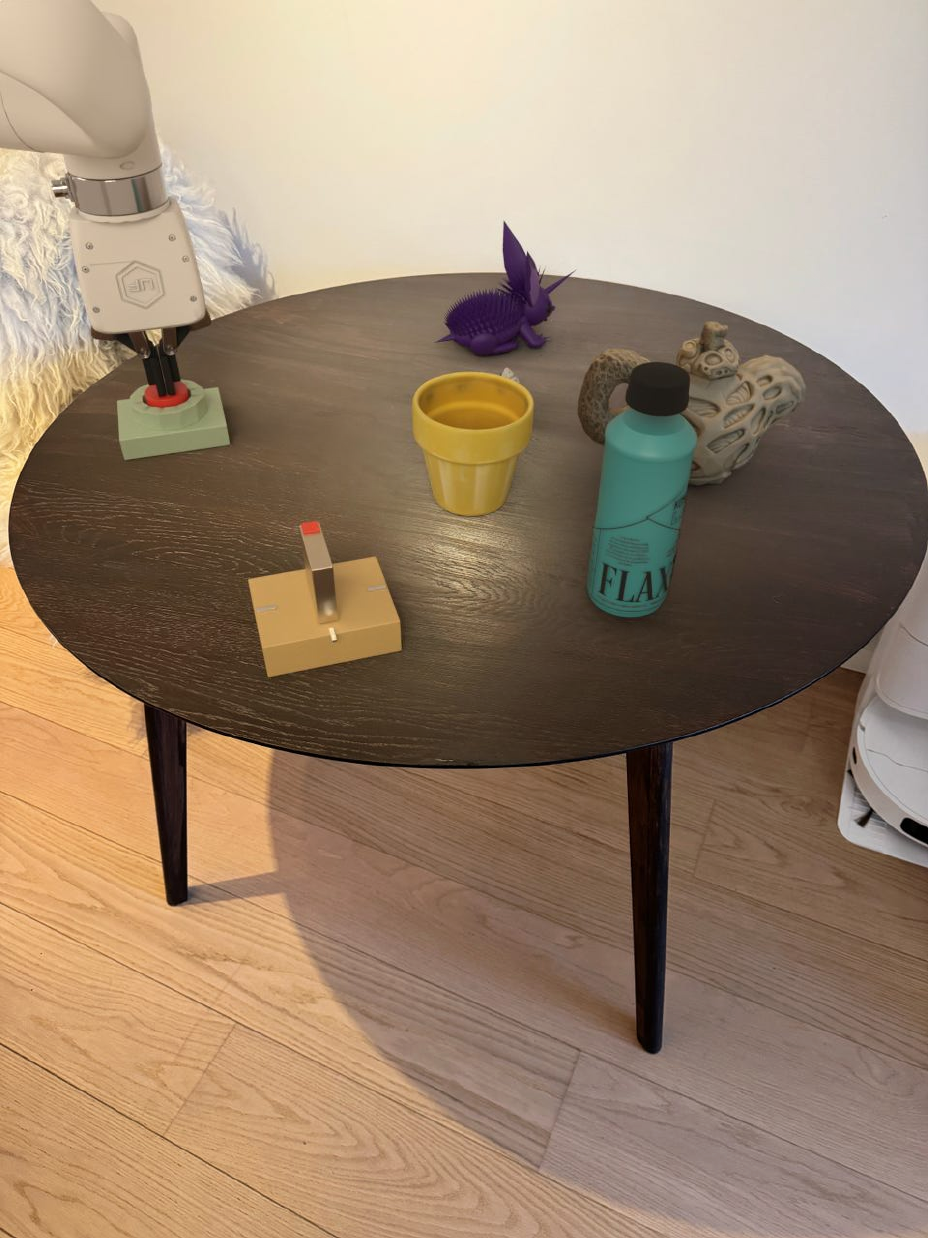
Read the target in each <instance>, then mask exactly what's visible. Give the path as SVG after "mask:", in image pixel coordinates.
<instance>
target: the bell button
mask: <svg viewBox="0 0 928 1238" xmlns="http://www.w3.org/2000/svg"><path fill="white" fill-rule="evenodd" d="M164 382H165V381H164ZM174 387H175V393H176V395H170V394H168V393H167V389H166V384H165V390H166V395H164V396H163V397H159V396H158V392H157V388H156V385H150V386H149V387H147V388H146V390H145V392H144V394H145V398H146V402H147V405H148V406H150V407H158V408H166V407H174V406H177V405H180V404H182V403H184V402H186V401H187V400H188V399H189V395H188V390H187V386H186V385H185V384H184V383H182V382H174Z"/></svg>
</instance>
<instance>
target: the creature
mask: <svg viewBox="0 0 928 1238" xmlns="http://www.w3.org/2000/svg"><path fill="white" fill-rule="evenodd" d="M502 258H503V268H504V270H505V273H506V276H507V278H508V279H507V278H506V277H504V276H503V277H501V279H502V280H503V281H504V282H505V284H507V285H508V286H507V285H505V284H504V283H502V282H498V284H499V285H500V286H501V287H502V288H504V289H500V288H498V287H497V288H495V287H494V290H493V289H488V290H487V289H485V290H482V292H481V289H480V288H479V289H478V291H477V290H476V292H475V291H472V292H469V293H467V294H466V295H467V296H466V295H465V294H464V297H463V296H461V298H460V297H459V301H458V300H456V301H453V302H454V303H452V305H450V308H449V309H448V308H447V312H446V314H445V316H444V317H443V319H444V320H445V321H443V323H444V324H445V326H446V327H447V329H448V330H449V334H446V335H445V336H443V337H442V338H440V339H438V340H437V341H435V342H434V344H436V343H444V342H450V341H454V342H455V343H456V344H458V345H459V346H461V347H463V348H466V349H469V350H470V351H471V352H472V354H474V355H475V356H480V357H483V356H488V355H498V354H504V353H507V352H511V351H512V350H515V349H516V348H518V347H523V344H520V343H521V341H518V342H517V340H518V337H520V338H521V339H522V340H523V341H524V342H525V344H526V345H527V346H528V347H530V348H533V349H538V348H541V347H543V346H544V345H545V344H546V343H549V342H552V340H546V339H548V338H550V336H546V337H544V336H543V335H544V332H542V333H540V334H538V333H536V331H535V330H534V329H533V327H536V326H538V325H540V324H542V323H543V322H548V318H549V317H551V315H552V313H553V311H555V310H556V306H555V305H554V304H553V302H552V300H551V297H550V294H551V293H552V292H553V291H554V290H555V289H557V287H559V286H560V285H561V284H562V283H563V282H565V281H566V280H567V279H568V278H569V277H570V276H572V274H573V273H575V272H576V271H577V269H575V270H573V271H571V272H570V273H569V274H566V276H563V277H562V278H560V279H558V280H557V281H555V282H554V283H552V284H550V285H549V286H547V287H546V288H544V287H543V286H541V283H542V280H543V277H544V274H545V270H546V268H547V266H545V267H544V269H543V271H542V274H541V276H540V271H541V267H542V265H540V266H539V269H538V268H537V265H536V262H535V260H534V259H533V258H532V256H531V254H530V252H529V251H528V250H527V251H526V253H525V250H524V248H523V246H522V244H521V243H520V241H519V240H518V238H517V237H516V236H515V234H514V233H513V231H512V230H511V228H510V227H509V225H508V224H507V223H506V221H505V220H503V226H502ZM539 277H540V278H539ZM505 290H506V291H505ZM475 293H476V294H475ZM469 295H470V296H469ZM456 302H457V303H456Z"/></svg>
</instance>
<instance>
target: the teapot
mask: <svg viewBox="0 0 928 1238" xmlns="http://www.w3.org/2000/svg"><path fill="white" fill-rule="evenodd" d="M729 332H730V331H729V326H728V325H726V324H721V323H720V322H718V321H705V322H704V325H703V328H702V330H701V334H700V336H699V337H695V338H693V339H689V340H685V341H683V342H682V345H681V346H680V348H679V349H678V350H677V353H676V358H675V365H677V366H679V367H681V368H683V369H685V370H686V371H687V372H688V374H689V376H690V389H689V403H688V407H687V408H686V410H684V411H683V412H681V413H679V414H681V415H682V416H683V417H684V418H685V419H686V420H687V421H688V422H689V423H690V424H691V426H692V427H693V428H694V430H695V432H696V434H697V445H696V448H695V449H694V454H693V459H692V464H691V470H690V473H693V474H692V475H691V474H690V477H691V478H690V477H689V479H690V480H689V482H690V483H688V486H689V485H690V486H693V485H694V486H697V487H698V486H703V485H707V484H710V485H711V484H715V485H717V484H722V483H723V482H724V480H726V479H727V478H728V477H729V476H731V475H732V472H733V471H736V470H738V469H741V468H742V467H744V466H746V464H747V463H748V462H749V461H750V459H752V458H753V457H754V454H755V452H756V449H757V447H758V444H759V443H760V441H761V438H762V437H763V435H764V434H765V432H766V431H768V430H769V429H770V428H771V427H773V426H775V425H777V424H779V423H781V422H783V421H785V420H786V419H788V418H789V417H790V416H791V415H792V414H793V412H794V411H795V410H796V409H797V408H798V407H801V406H802V405H804V404H805V397H806V391H807V390H806V389H807V385H806V384H805V382H804V379H803V376H802V374H801V373H800V372H799V371H798V370H797V368H795V367H794V366H793V365H791V364H790V363H789V362H787V360H785V359H783V358H782V357H778V356H773V355H772V356H771V355H769V354H764V355H762V356H760V357H759V356H758V357H755V358H750V359H749V360H747V361H745V362H744V363H741V358H740V356H739V352H738V350H737V349H736V348H735V347H734V345H733V344H732V343H731V342H729V340H727V339H725V338H726V337H727V335H728V333H729ZM648 362H651V361H650V359H648V358H646V357H644V356H641V355H640V354H638V353H637V352H636V351H634V350H633V349H622V348H607V349H606V350H605V351H603V352H602V353H599V355H597V356H596V357H595V358H594V359H593V360H592V362H591V363H590V366H589V367H588V369H587V371H586V372H585V374H584V377H583V381H582V384H581V388H580V391H579V396H578V399H577V400H578V401H577V411H576V412H577V413H576V414H577V417H578V420H579V423H580V425H581V428H582V430H583V432H584V433H585V435H586V436H587V437H589V439H590V440H591V441H592V442H593V443H594V444H598V445H599V446H604V447H605V431H606V427H607V425H608V423H609V422H610V421H611V420H612V419H613V418H615V417H616V416H618V415H619V414H621V413H622V412H624V411H626V410H628V409H630V408H631V407H630V406H629V405H628V404H627V403H626V405H625V406H624V407H620V408H617V407H616V408H611V407H610V398H611V396H612V393H613V392H614V390H615V389H616V387H617V386H620V385H621V384H627V385H629V380H630V375H631V372H632V370H633V369H634V368H635V367H636V366H638V365H640V364H643V363H648Z"/></svg>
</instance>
